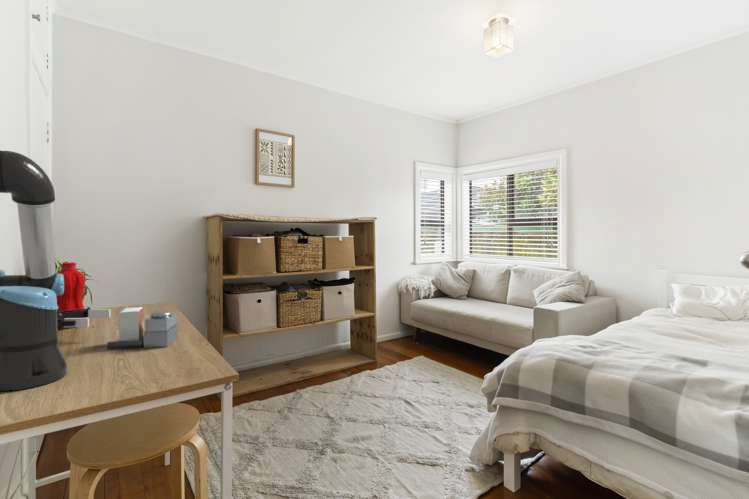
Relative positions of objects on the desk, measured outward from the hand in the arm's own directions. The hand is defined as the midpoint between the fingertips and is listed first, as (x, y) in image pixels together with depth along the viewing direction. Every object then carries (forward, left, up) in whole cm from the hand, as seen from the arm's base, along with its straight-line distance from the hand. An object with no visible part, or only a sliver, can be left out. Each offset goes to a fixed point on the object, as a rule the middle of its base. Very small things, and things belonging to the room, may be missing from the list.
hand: (99, 317), depth 125 cm
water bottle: (+30, +24, -9) cm, 40 cm away
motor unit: (0, -13, -9) cm, 16 cm away
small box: (0, -10, -8) cm, 13 cm away
